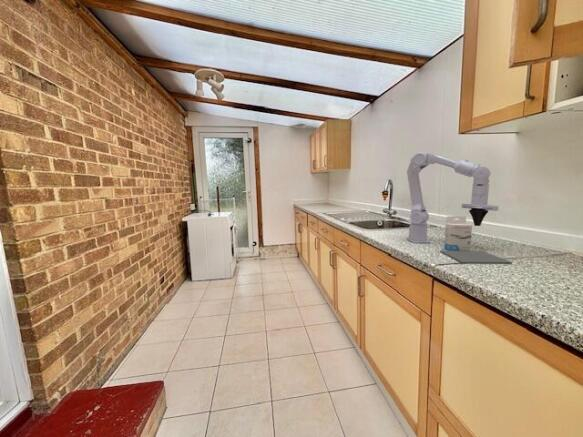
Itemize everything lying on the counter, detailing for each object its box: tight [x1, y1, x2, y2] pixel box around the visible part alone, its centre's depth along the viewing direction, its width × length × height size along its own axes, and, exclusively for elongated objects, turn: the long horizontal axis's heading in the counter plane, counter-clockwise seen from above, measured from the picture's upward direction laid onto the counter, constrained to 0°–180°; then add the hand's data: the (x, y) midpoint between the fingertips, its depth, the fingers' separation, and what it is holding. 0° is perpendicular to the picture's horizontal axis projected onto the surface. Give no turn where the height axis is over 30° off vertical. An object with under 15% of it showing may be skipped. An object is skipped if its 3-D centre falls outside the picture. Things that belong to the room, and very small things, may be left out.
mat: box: [439, 250, 513, 265], centre depth 99 cm, size 16×17×1 cm
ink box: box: [443, 215, 473, 251], centre depth 109 cm, size 9×5×15 cm, turn 84°
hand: (477, 225), depth 111 cm, fingers closed
